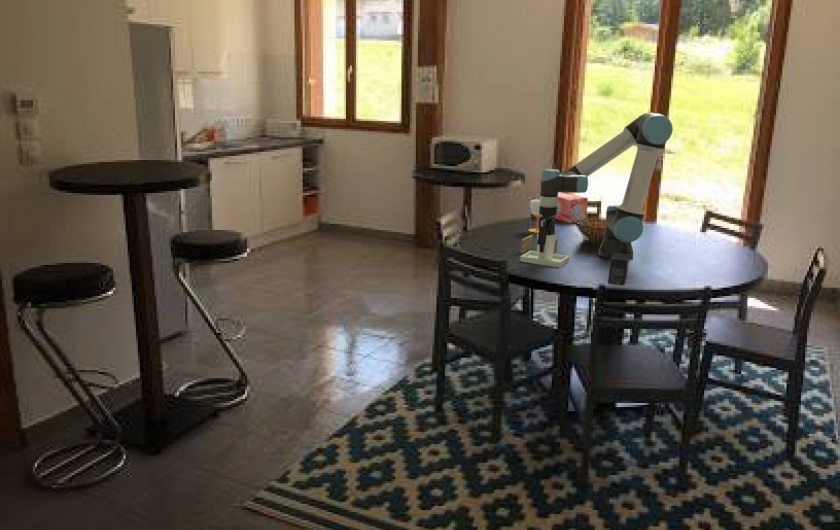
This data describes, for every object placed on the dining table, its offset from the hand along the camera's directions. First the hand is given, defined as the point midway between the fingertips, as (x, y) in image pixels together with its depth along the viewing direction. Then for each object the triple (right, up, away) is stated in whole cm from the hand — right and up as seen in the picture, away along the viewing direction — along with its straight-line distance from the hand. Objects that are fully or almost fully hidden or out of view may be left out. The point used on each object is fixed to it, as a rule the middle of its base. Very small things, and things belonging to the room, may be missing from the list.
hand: (545, 257), depth 298 cm
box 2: (+24, -10, -26) cm, 37 cm away
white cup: (0, -1, 0) cm, 1 cm away
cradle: (0, +3, +16) cm, 16 cm away
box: (+26, +23, +90) cm, 96 cm away
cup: (+6, +14, +57) cm, 59 cm away
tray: (0, -2, +1) cm, 2 cm away
